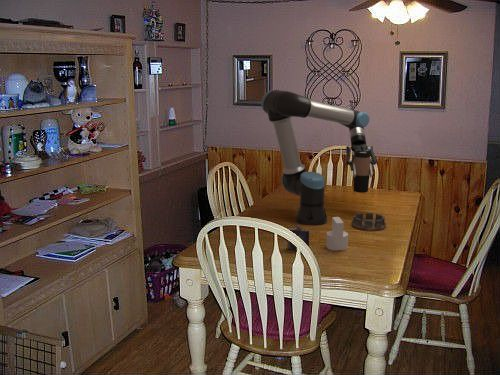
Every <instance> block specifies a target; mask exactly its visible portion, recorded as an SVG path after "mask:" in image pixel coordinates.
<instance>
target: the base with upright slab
mask: <svg viewBox="0 0 500 375" xmlns="http://www.w3.org/2000/svg"><path fill="white" fill-rule="evenodd" d="M331 221H332V222H331V230H329V231H326V242H325V243H326V245H325V247H326V249H328V250H330V251H335V250H336V251H337V250H342V251H347V249H348V248H349V246H348V245H349V233H348V231H345V230H344V226H345V225H344V224H345V223H344V221H343V220H342V219H341V217H339V216H334V217H333V216H332V220H331Z"/></svg>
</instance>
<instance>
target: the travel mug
mask: <svg viewBox="0 0 500 375" xmlns="http://www.w3.org/2000/svg"><path fill="white" fill-rule="evenodd" d="M370 154H371V152H370V151H368V150H366V152H363V151H361V150H359V151H355V159H354V163H355V169H356V176H355V177H354V176H353V192H355V193H359V194H360V193H361V194H363V193H368V192H369V183H370V182H369V181H370V158H371V156H370Z"/></svg>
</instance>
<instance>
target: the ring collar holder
mask: <svg viewBox="0 0 500 375" xmlns="http://www.w3.org/2000/svg"><path fill="white" fill-rule="evenodd" d="M352 217H353V220H351V228H354V229H355V230H360V231H363V232H365V231H366V232H378V231H383V230H385V229H386V227H387V223H386V222H385V216H384V215H383V214H379V213H375V218H374V212H365V217H364V213H363V212H357V213H355V214H353V216H352Z"/></svg>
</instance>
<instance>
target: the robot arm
mask: <svg viewBox="0 0 500 375" xmlns="http://www.w3.org/2000/svg"><path fill="white" fill-rule="evenodd" d="M261 108H262V110H263V111H264V113H266V114H267V116H268V119H269V122H270V123H272V124H273V128H274V131H275V135H276V139H277V143H278V147H279V152H280V155H281V159H282V163H283V166H284V168H283V169H282V176H281V179H280V180H281V185H282V187H283V189H284V190H285V191H287V192H289V193H291V194H293V195H297V196H299V208H298V210H297V213H296V216H295V217H296V218H295V220H296V222H297V223H298V224H300V225H309V226H319V225H324V224H326V223H327V222H328V216H327V212H326V208H325V186H326V183H325V182H326V181H325V176H324V175H323V174H321V173H319V172H316V171H315V172H314V171H307V169H306V168H307V167H306V165H305V164H302V161H301V157H300V153H299V149H298V145H297V140H296V137H295V132H294V128H293V124H292V120H291V119H292V117H293V118H294V117H295V118H303V119H305V118H307V117H308V118H309V117H310V118H313V119H318V120H324V121H327V122H328V121H329V122H334V123H337V124H340V125H341V126H343V127H347V128H348V131H349V138H350V146H348V145H347V146H345V152H346V159H345V161H346V163H345V164H346V165H347V166H349V167H350V171H351V172H352V174H353V178H354V177H355V176H356V169H355V151H359V150H361V151H363V152H366V151H370V152H371V154H370V174H369V178H372V177H373V175H374V174H373V171H374V169H375V168H374V166H375V165H377V159H376V156H375V152H374V146H368V145H367V139H366V133H365V128H366V127H367V126H368V125H369V123H370V116H369V114H368V112H364V111H359V110H354V109H351V108H345V107H342V106H338V105H332V104H330V103H329V104H328V103H323V102H320V101H315V100H312V99H311V98H310V97H308V96H304V95H301V94H297V93H295V92H292V91H288V90H281V89H271V90H269V91H267V92H265V93H264V95H263V97H262V99H261ZM351 151H352V152H353V154H352V157H351V158H350V156H351V154H350V153H351ZM350 159H351V160H350Z"/></svg>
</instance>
